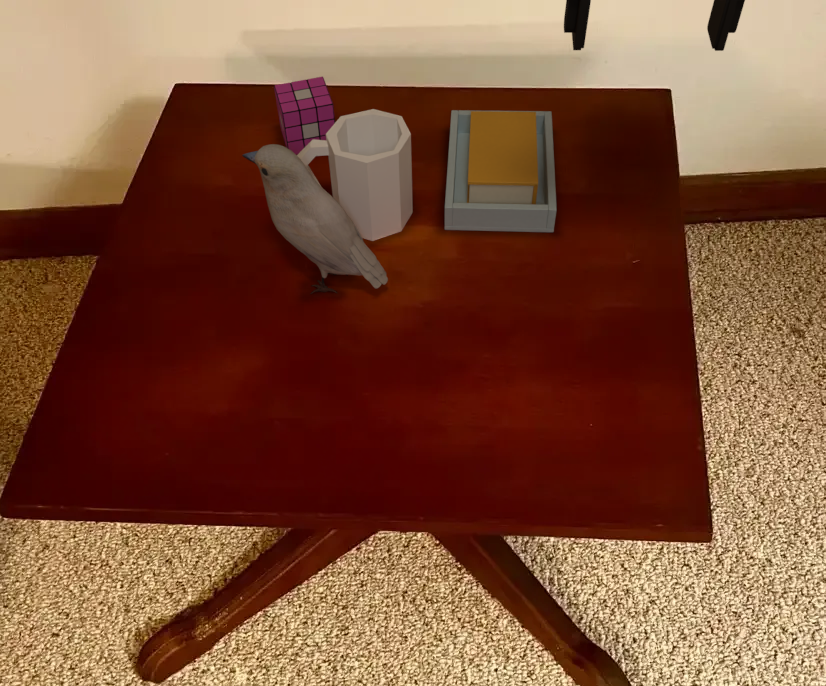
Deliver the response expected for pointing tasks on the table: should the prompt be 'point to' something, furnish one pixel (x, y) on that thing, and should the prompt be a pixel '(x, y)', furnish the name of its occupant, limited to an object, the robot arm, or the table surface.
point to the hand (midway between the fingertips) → (645, 40)
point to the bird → (313, 218)
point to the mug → (369, 170)
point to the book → (502, 158)
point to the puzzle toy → (304, 112)
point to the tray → (499, 215)
